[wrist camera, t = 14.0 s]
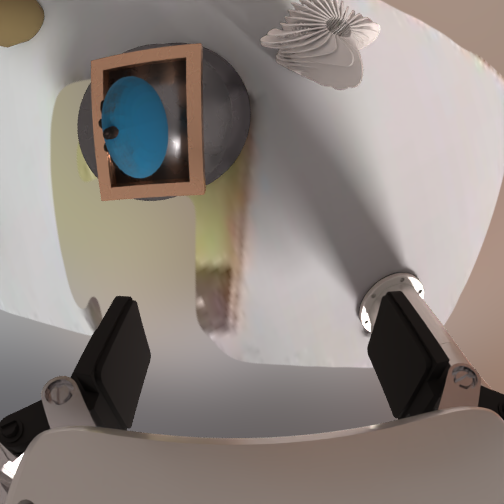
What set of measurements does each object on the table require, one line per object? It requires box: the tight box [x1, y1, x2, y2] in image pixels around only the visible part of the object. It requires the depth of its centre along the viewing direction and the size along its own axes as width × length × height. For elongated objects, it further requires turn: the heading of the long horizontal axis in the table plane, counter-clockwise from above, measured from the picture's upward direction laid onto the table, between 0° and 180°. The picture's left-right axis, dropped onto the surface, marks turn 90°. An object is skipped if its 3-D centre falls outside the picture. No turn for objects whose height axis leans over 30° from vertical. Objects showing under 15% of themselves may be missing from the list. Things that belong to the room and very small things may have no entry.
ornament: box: [98, 76, 168, 178], centre depth 19 cm, size 8×5×10 cm, turn 8°
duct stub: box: [78, 43, 250, 201], centre depth 28 cm, size 19×19×12 cm
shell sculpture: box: [260, 0, 380, 90], centre depth 22 cm, size 8×8×18 cm
